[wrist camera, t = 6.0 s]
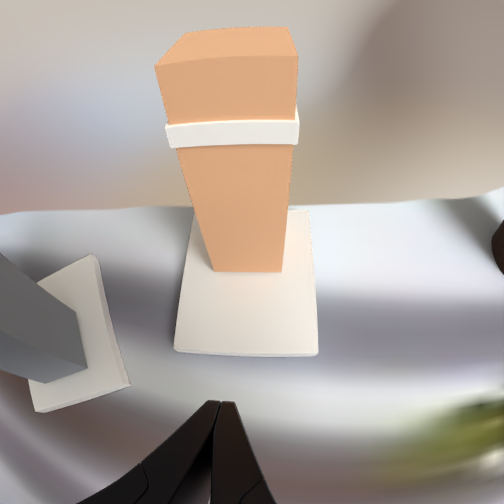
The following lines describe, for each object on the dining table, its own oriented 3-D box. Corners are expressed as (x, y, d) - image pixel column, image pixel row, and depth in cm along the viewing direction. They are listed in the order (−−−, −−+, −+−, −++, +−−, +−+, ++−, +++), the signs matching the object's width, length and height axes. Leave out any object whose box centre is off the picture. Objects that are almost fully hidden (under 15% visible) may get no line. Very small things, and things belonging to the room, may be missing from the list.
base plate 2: (315, 356, 17) (318, 352, 16) (178, 352, 18) (173, 348, 17) (306, 219, 23) (308, 209, 22) (197, 219, 23) (194, 210, 22)
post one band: (283, 274, 19) (303, 57, 7) (211, 273, 19) (148, 68, 7) (282, 216, 21) (290, 26, 9) (218, 216, 22) (183, 32, 10)
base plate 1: (130, 385, 16) (123, 383, 15) (44, 412, 15) (35, 411, 14) (98, 260, 22) (92, 253, 21) (27, 297, 20) (19, 292, 19)
